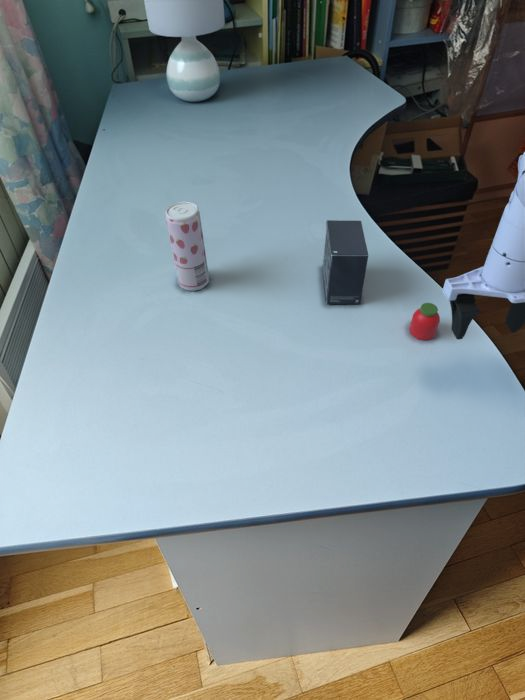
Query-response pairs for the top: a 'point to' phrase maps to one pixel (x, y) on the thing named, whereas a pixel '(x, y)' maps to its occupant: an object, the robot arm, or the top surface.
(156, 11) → the lamp
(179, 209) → the beverage can
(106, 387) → the top surface
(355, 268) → the small box
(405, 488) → the top surface
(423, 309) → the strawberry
